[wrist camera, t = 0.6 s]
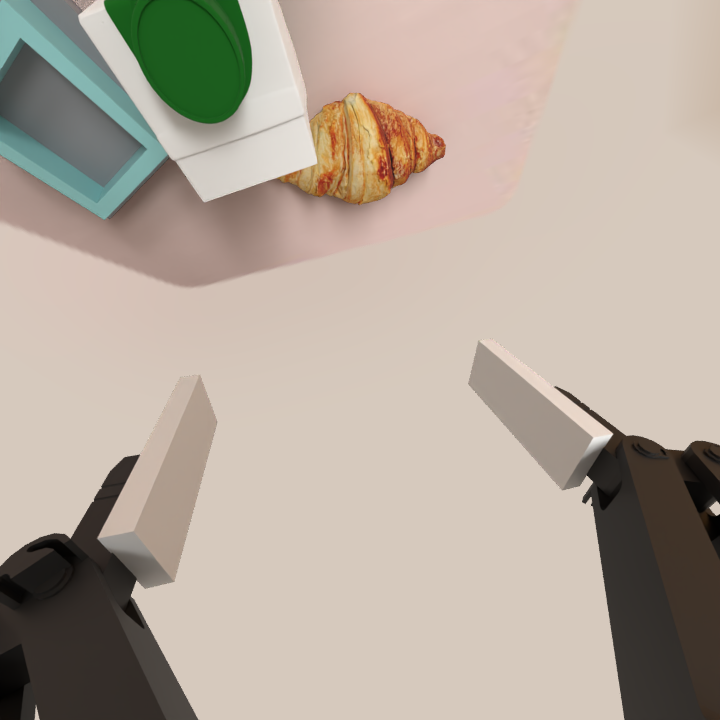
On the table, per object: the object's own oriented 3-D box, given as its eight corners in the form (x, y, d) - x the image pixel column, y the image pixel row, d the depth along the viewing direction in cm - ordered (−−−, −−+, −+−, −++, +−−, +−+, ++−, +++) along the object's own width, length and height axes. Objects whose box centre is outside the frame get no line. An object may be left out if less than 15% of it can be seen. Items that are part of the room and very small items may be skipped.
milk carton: (245, -96, 20) (268, -79, 10) (295, 78, 28) (337, 190, 17) (126, -50, 20) (25, 13, 10) (208, 109, 28) (199, 237, 18)
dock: (-215, 0, 19) (-272, 14, 17) (-151, -235, 14) (-217, -257, 12) (111, 213, 33) (103, 235, 31) (193, 128, 29) (191, 147, 27)
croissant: (261, 166, 36) (272, 228, 36) (236, 83, 26) (251, 168, 26) (424, 151, 39) (436, 209, 38) (458, 71, 29) (475, 147, 28)
